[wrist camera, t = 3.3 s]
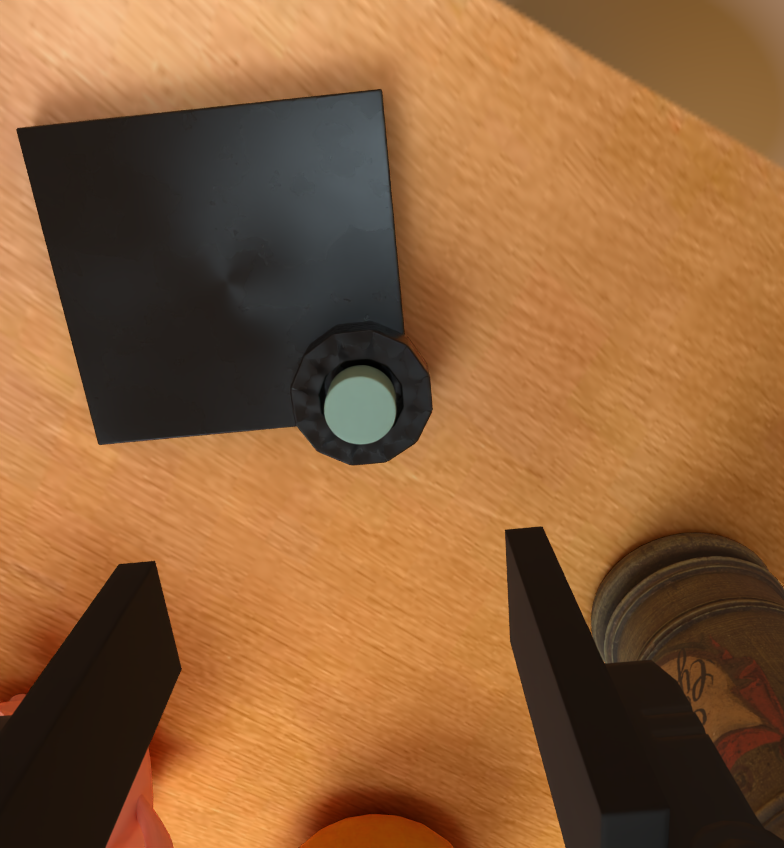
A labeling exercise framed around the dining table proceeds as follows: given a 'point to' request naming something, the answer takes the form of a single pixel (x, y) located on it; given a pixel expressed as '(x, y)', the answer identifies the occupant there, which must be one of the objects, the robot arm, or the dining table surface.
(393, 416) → the button
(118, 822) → the teapot
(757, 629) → the container
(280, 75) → the dining table surface
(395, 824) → the fruit
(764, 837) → the robot arm
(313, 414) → the scale
